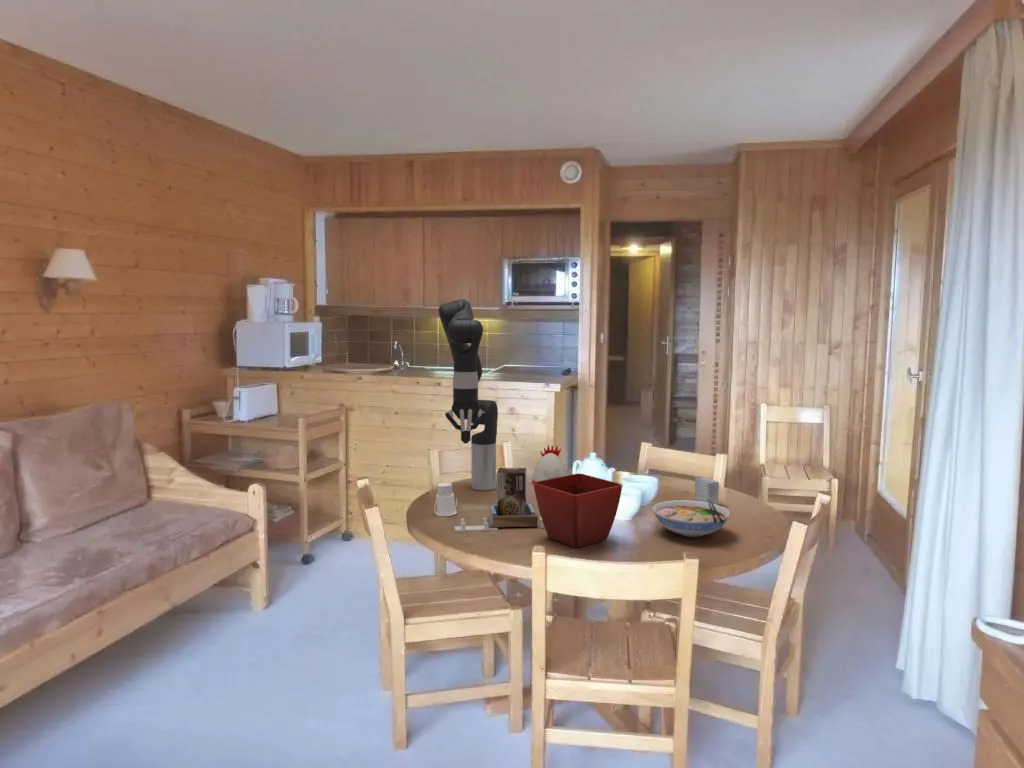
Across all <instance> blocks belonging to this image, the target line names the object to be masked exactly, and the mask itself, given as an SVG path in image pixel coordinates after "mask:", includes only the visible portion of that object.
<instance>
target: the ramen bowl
mask: <svg viewBox="0 0 1024 768" xmlns="http://www.w3.org/2000/svg"><path fill="white" fill-rule="evenodd" d="M707 500H708V499H707ZM709 500H710V499H709ZM710 502H711V501H710ZM652 511H653V513H654V515H655V517H656V518H657V520H658V521H659V523H660V524H661V526H663V527H664V528H666V529H667V530H669V531H670V532H673V533H676V534H677V535H679V536H682V537H684V538H685V537H686V538H700V537H703V536H706V535H711V534H713V533H714V532H716V531H718V530H720V529H721V528H722V527H723V526H724V525H725V524H726V523H727V521H728V519H729V517H730V514H731V511H729V510H728V508H726V507H723V506H721V505H719V504H718V505H716V504H712V502H711V503H709V501H708V503H707V502H701V501H695V500H689V499H686V500H685V499H683V500H681V499H679V500H677V499H674V500H667V501H661V502H658V503H655V504H654V505H653V506H652Z"/></svg>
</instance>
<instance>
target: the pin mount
mask: <svg viewBox="0 0 1024 768" xmlns="http://www.w3.org/2000/svg"><path fill="white" fill-rule="evenodd" d="M487 518H488V517H483V518H482V525H466V521H465V517H464V518H463V517H461V518H460V525H454V531H455V532H461V533H466V532H468V531H469V532H470V531H473V532H477V531H479V532H480V531H484V532H489V531H498V528H499V527H492V526H488V523H487ZM538 518H539V519H538V522H539V527H540V529H545V527H544V524H543V521H542V518H541V516H539V517H538Z"/></svg>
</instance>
